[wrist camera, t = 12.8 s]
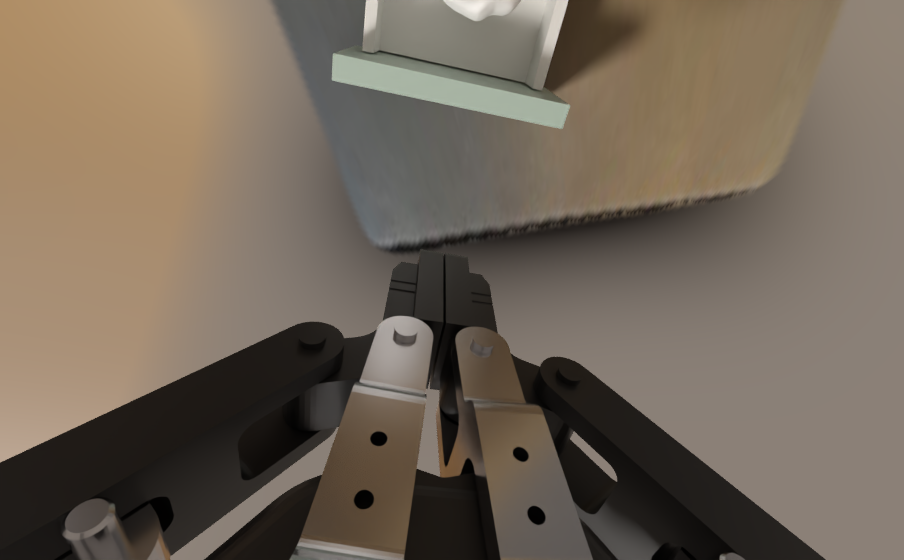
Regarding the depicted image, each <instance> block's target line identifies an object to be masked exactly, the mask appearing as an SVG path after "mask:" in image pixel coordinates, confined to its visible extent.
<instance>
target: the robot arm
mask: <svg viewBox="0 0 904 560" xmlns="http://www.w3.org/2000/svg"><path fill="white" fill-rule="evenodd" d="M429 380H430V389H435V390H440V397H439V402H438V406H437V410H436V425H437V437H438V438H437V439H438V453H439V467H440V477H438V476H436V475H433V474H430V473H427V472H424V471H421V470H419V469H417V461H418V454H419V447H420V440H421V433H422V426H423V419H424V412H425V405H426V394H425V391H426V389H427V388H428V384H429ZM336 427H339V428H338V432H337V434H336V437H335V440H334V443H333V446H332V448H331V451H330V454H329V457H328V460H327V463H326V466H325V468H324V471H323V474H322V475H320V476H317V477H315V478H312V479H309V480H307V481H304V482H303V483H301V484H299V485H297V486H295V487H293V488H291V489H290V490H288V491H287V492H285V493H284V494H282V495H281V496H279V497H278V498H277V499H276V500H274V501H273V502H272V503H271V504H270V505H268V506H267V507H266V508H265V509H264V510H263V511H261V512H260V513H259V514H258V515H257V516H255V517H254V518H253V519H252V520H251V521H250V522H248V523H247V524H246V525H245V526H243V528H241V529H240V530H239V531H238V532H236V533H235V534H234V535H233V536H232V537H230V538H229V539H228V540H227V541H226V542H225V543H223V544H222V545H221V546H220V547H219V548H217V549H216V550H215V551H214V552H213V553H212V554H210V555H209V556H208V557H207V558H206V559H204V560H825V559H824V558H823V557H822V556H820V555H819V554H818V553H817V552H815V551H814V550H813V549H812V548H810V547H809V546H808V545H807V544H805V543H804V542H803V541H802V540H800V539H799V538H798V537H797V536H795V535H794V534H793V533H791V532H790V531H789V530H788V529H787V528H785V527H784V526H783V525H781V524H780V523H779V522H778V521H777V520H775V519H774V518H773V517H772V516H770V515H769V514H768V513H766V512H765V511H764V510H763V509H761V508H760V507H759V506H758V505H756V504H755V503H754V502H753V501H751V500H750V499H749V498H747V497H746V496H745V495H744V494H742V493H741V492H740V491H739V490H738V489H736V488H735V487H734V486H733V485H731V484H730V483H729V482H728V481H726V480H725V479H724V478H723V477H721V476H720V475H719V474H718V473H716V472H715V471H714V470H713V469H711V468H710V467H709V466H707V465H706V464H705V463H704V462H702V461H701V460H700V459H699V458H697V457H696V456H695V455H694V454H692V453H691V452H690V451H689V450H687V449H686V448H685V447H684V446H682V445H681V444H680V443H678V442H677V441H676V440H675V439H674V438H672V437H671V436H670V435H669V434H667V433H666V432H665V431H664V430H662V429H661V428H660V427H658V426H657V425H656V424H655V423H653V422H652V421H651V420H650V419H648V418H647V417H646V416H645V415H643V414H642V413H641V412H640V411H638V410H637V409H636V408H634V407H633V406H632V405H631V404H630V403H628V402H627V401H626V400H625V399H623V398H622V397H621V396H620V395H618V394H617V393H616V392H615V391H613V390H612V389H611V388H610V387H608V386H607V385H606V384H605V383H603V382H602V381H601V380H599V379H598V378H597V377H596V376H594V375H593V374H592V373H591V372H589V371H588V370H587V369H585V368H584V367H583V366H581V365H580V364H579V363H577V362H575V361H572V360H570V359H567V358H563V357H550V358H547V359H546V360H544V361H543V363H542V364H541V366H540V367H539V366H536V365H534V364H531V363H529V362H526V361H523V360H521V359H519V358H517V357H515V356H513V355H512V354H511V353H510V349H509V346H508V344H507V342H506V341H505V340H504V339H503V337H501V336H500V335H499V334H498V332H497V327H496V321H495V315H494V310H493V306H492V298H491V292H490V286H489V284H488V283H487V281H486V280H485V279H484V278H483V277H482V275H480V274H473V273H469V266H468V258H467V257H464V256H458V255H452V254H446V253H445V254H444V257H443V253H440V252H434V251H428V250H422V249H420V254H419V259H418V264H411V263H405V262H401V263H400V264H399V265H397V266H396V267H395V268H394V269H393V272H392V277H391V282H390V287H389V292H388V297H387V302H386V307H385V313H384V318H383V321H382V322H381V323H380V325H379V326H378V328H377V330H375V331H374V332H372V333H370V334H368V335H365V336H361V337H355V338H344V337H343V335H342V333H341V332H340V331H339V330H338V329H337V328H335V327H334V326H331V325H329V324H326V323H322V322H305V323H301V324H297V325H295V326H292V327H290V328H288V329H286V330H284V331H281V332H279V333H277V334H275V335H273V336H271V337H269V338H266V339H264V340H262V341H260V342H258V343H256V344H254V345H251V346H249V347H247V348H245V349H243V350H241V351H239V352H237V353H234V354H232V355H230V356H228V357H226V358H224V359H221V360H219V361H217V362H215V363H213V364H211V365H209V366H207V367H204V368H202V369H200V370H198V371H196V372H194V373H191V374H190V375H187V376H185V377H183V378H181V379H179V380H177V381H175V382H172V383H170V384H168V385H166V386H164V387H161V388H159V389H157V390H155V391H153V392H151V393H149V394H146V395H144V396H142V397H140V398H138V399H136V400H134V401H131V402H130V403H127V404H125V405H123V406H121V407H119V408H116V409H114V410H112V411H110V412H108V413H106V414H104V415H101V416H99V417H97V418H95V419H93V420H91V421H89V422H86V423H84V424H82V425H80V426H78V427H76V428H74V429H71V430H69V431H67V432H65V433H63V434H61V435H59V436H57V437H54V438H52V439H50V440H48V441H46V442H44V443H41V444H39V445H37V446H35V447H33V448H31V449H29V450H26V451H24V452H22V453H20V454H18V455H16V456H14V457H11V458H9V459H7V460H5V461H3V462H1V463H0V560H170V556H171V555H173V554H174V553H175V552H176V551H178V550H179V549H181V548H182V547H183V546H185V545H186V544H187V543H188V542H190V541H191V540H193V539H194V538H195V537H197V536H198V535H199V534H200V533H202V532H203V531H205V530H206V529H207V528H209V527H210V526H211V525H212V524H214V523H215V522H216V521H218V520H219V519H221V518H222V517H223V516H224V515H226V514H227V513H228V512H230V511H231V510H233V509H234V508H235V507H237V506H238V505H239V504H241V503H242V502H243V501H245V500H246V499H247V498H249V497H250V496H251V495H253V494H254V493H255V492H257V491H258V490H259V489H261V488H262V487H263V486H264V485H266V484H267V483H269V482H270V481H271V480H273V479H274V478H275V477H277V476H278V475H279V474H281V473H282V472H283V471H284V470H286V469H287V468H289V467H290V466H291V465H293V464H294V463H295V462H297V461H298V460H299V459H301V458H302V457H303V456H305V455H306V454H307V453H308V452H310V451H311V450H313V449H314V448H315V447H317V446H318V445H319V444H321V443H322V442H323V441H325V440H326V439H327V438H328V437H330V436H331V435H332V434H333V432H334V431H335V429H336ZM574 431H575V432H576V433H577V434H578V435H579V436H580V437H581V438H582V439H583V440H584V441H585V442H587V443H588V444H589V445H590V446H591V447H592V448H593V449H594V450H595V451H596V452H597V453H598V454H599V455H601V456H602V457H603V458H604V459H605V460H606V461H607V462H608V463H609V464H610V465H611V466H612V468H613V469H614V471H615V473H616V475H617V482H616V481H614V480H613V479H611V478H610V477H609V476H608V475H607V474H606V473H605V472H604V471H603V470H602V469H601V468H600V467H599V466H598V465H596V464H595V463H594V462H593V461H592V460H591V459H590V458H589V457H588V456H587V455H586V454H585V453H584V452H583V451H582V450H581V449H580V448H579V447H577V446H576V445H575V444H574V443H573V442H572V441H571V440H570V437H571V435H572V434H573V432H574Z"/></svg>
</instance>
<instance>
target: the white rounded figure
mask: <svg viewBox="0 0 904 560" xmlns="http://www.w3.org/2000/svg"><path fill="white" fill-rule="evenodd" d="M443 1H444V2H445V3H446V4H447V5H448V6H449V7H450V8H452V9H453V10H454V11H456V12H458V13H460V14H462V15H464V16H465V17H467V18H469V19H471V20H473V21H481V20H483V19H485V18H486V17H488V16H491V15H499V16H504V15H507V14H509V13H511V12H512V11H513V10H514V9H515V8H516V7H517V6H518V4H519V3H520V2H521V0H443Z"/></svg>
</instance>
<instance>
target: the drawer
mask: <svg viewBox="0 0 904 560" xmlns="http://www.w3.org/2000/svg"><path fill="white" fill-rule="evenodd" d="M568 1H569V0H521V2H520V3H519V4H518V6H517V7H516V8H515V9H514V10H513V11H512V12H511V13H509V14H507V15H504V16H499V15H491V16H488V17H486V18H485V19H483V20H481V21H473V20H471V19H469V18H467V17H465V16H464V15H462V14H460V13H458V12H456V11H454V10H453V9H452V8H450V7H449V6H448V5H447V4H446V3H445V2H444V1H443V0H366V9H365V22H364V36H363V47H361V46H353V47H350V48H347V49H344V50H341V51H338V52H335V53H333V65H332V80H333V81H337V82H342V83H347V84H352V85H356V86H361V87H366V88H370V89H375V90H380V91H385V92H389V93H394V94H399V95H404V96H408V97H413V98H418V99H422V100H427V101H432V102H437V103H441V104H446V105H451V106H456V107H460V108H465V109H470V110H474V111H479V112H484V113H489V114H493V115H498V116H503V117H507V118H512V119H517V120H522V121H526V122H531V123H536V124H541V125H545V126H550V127H555V128H559V129H562V128H563V125H564V122H565V119H566V116H567V113H568V110H569V107H570V105H569V104H568V103H566V102H565V101H563V100H562V99H560V98H559V97H558V96H556V95H555V94H553V93H552V92H551V91H549V90H548V89H546V88H544V87H543V86H544V83H545V79H546V76H547V73H548V69H549V66H550V62H551V59H552V55H553V52H554V49H555V45H556V42H557V38H558V35H559V31H560V28H561V25H562V21H563V18H564V14H565V11H566V7H567V4H568ZM379 50H381V51H379ZM383 51H386V52H383ZM388 52H390V53H388ZM392 53H395V54H392ZM396 54H399V55H396ZM401 55H404V56H401ZM405 56H408V57H405ZM410 57H413V58H410ZM414 58H417V59H414ZM419 59H421V60H419ZM423 60H426V61H423ZM428 61H430V62H428ZM432 62H435V63H432ZM437 63H439V64H437ZM441 64H444V65H441ZM446 65H448V66H446ZM450 66H453V67H450ZM455 67H457V68H455ZM459 68H462V69H459ZM464 69H466V70H464ZM468 70H471V71H468ZM473 71H475V72H473ZM477 72H480V73H477ZM482 73H484V74H482ZM486 74H489V75H486ZM490 75H493V76H490ZM495 76H498V77H495ZM499 77H502V78H499ZM504 78H506V79H504ZM508 79H511V80H508ZM513 80H515V81H513ZM517 81H520V82H517ZM522 82H524V83H522Z"/></svg>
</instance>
